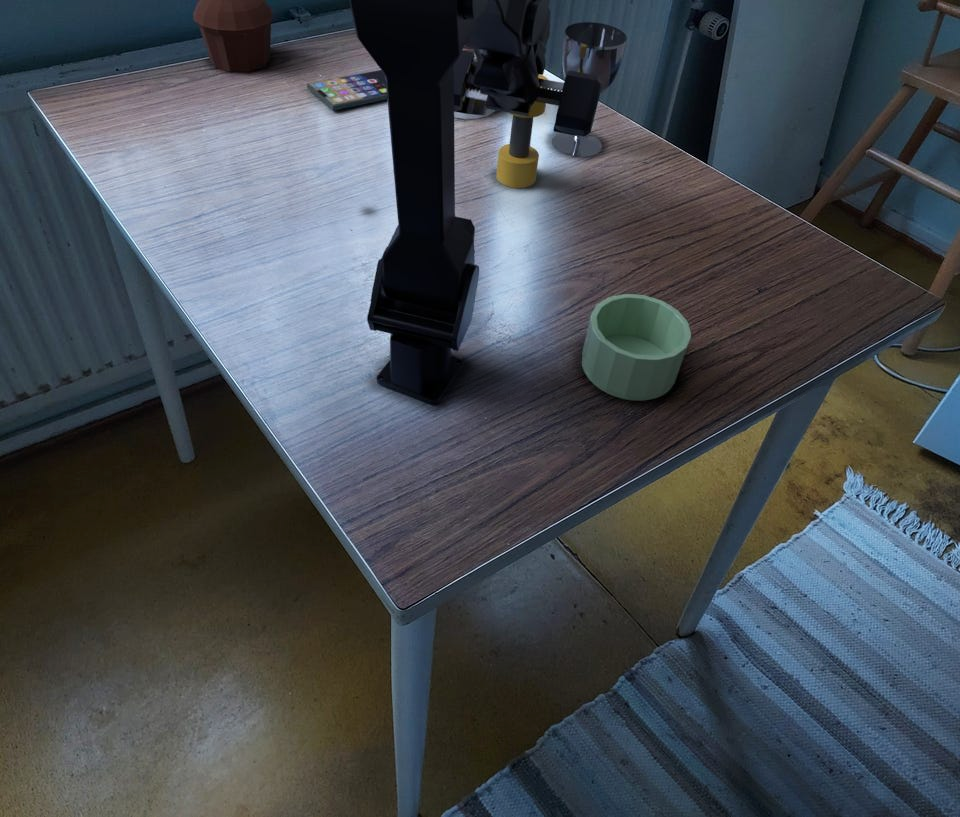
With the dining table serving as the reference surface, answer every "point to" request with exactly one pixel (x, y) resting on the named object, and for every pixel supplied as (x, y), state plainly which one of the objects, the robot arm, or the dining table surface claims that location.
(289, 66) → the dining table surface
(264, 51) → the muffin
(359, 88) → the smartphone
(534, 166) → the dumbbell
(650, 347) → the pot
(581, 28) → the wine glass
